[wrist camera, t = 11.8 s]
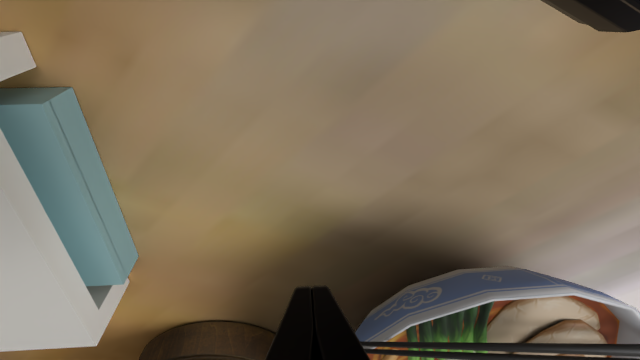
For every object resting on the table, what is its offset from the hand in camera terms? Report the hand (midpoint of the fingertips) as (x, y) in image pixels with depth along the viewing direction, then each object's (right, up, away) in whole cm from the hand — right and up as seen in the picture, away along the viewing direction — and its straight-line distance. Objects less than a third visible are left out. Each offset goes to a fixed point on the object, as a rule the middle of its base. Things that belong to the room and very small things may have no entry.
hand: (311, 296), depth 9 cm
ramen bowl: (+11, -8, +21) cm, 25 cm away
